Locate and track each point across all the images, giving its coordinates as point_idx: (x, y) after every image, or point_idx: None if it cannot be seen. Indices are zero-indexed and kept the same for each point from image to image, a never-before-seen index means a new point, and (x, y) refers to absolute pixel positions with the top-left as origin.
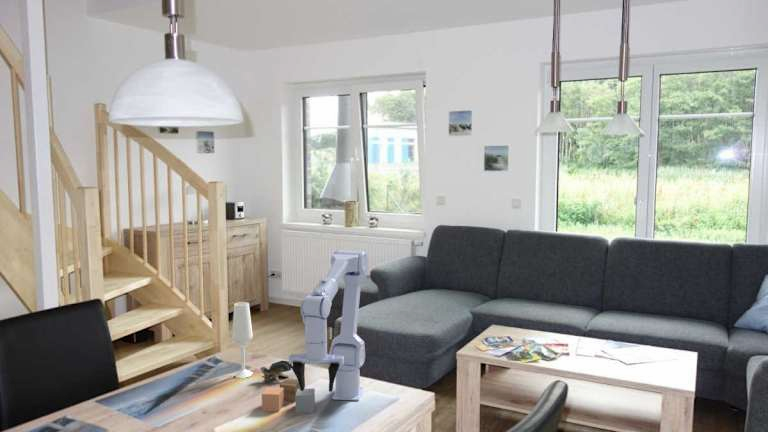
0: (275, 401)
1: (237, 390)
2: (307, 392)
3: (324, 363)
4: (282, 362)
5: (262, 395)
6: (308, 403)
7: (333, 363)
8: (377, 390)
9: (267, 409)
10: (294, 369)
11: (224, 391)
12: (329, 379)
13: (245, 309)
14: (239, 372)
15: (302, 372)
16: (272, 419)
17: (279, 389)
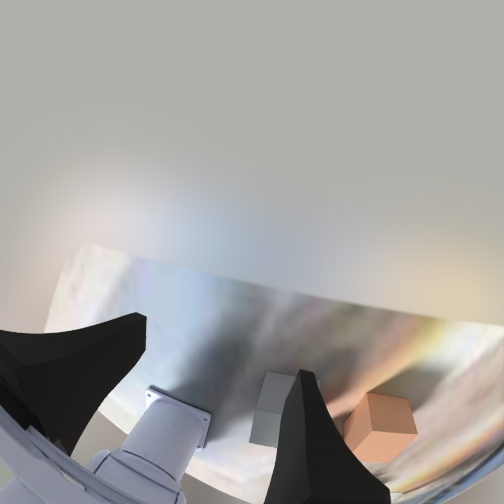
0: (379, 414)
1: (419, 465)
2: (274, 429)
3: (67, 460)
4: None
5: (415, 430)
6: (277, 393)
7: (7, 410)
8: (120, 408)
9: (396, 399)
10: (375, 494)
11: (441, 460)
12: (90, 343)
13: None
14: (393, 502)
15: (287, 473)
16: (396, 350)
17: (359, 453)
